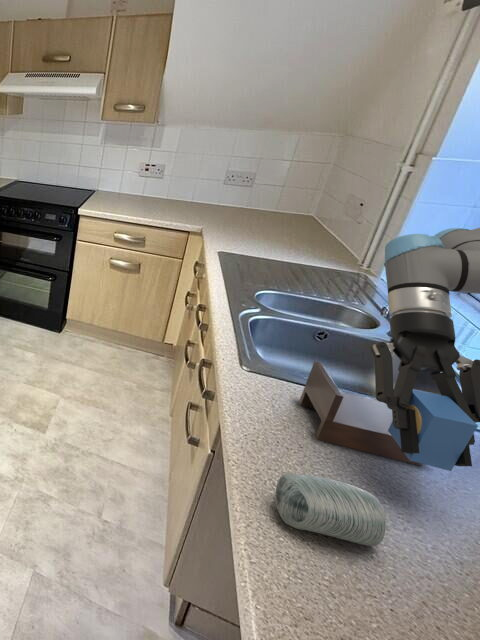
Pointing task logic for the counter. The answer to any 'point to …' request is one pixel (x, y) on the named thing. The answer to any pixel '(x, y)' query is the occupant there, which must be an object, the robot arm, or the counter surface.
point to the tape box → (437, 430)
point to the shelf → (350, 417)
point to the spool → (330, 508)
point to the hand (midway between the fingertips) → (435, 458)
